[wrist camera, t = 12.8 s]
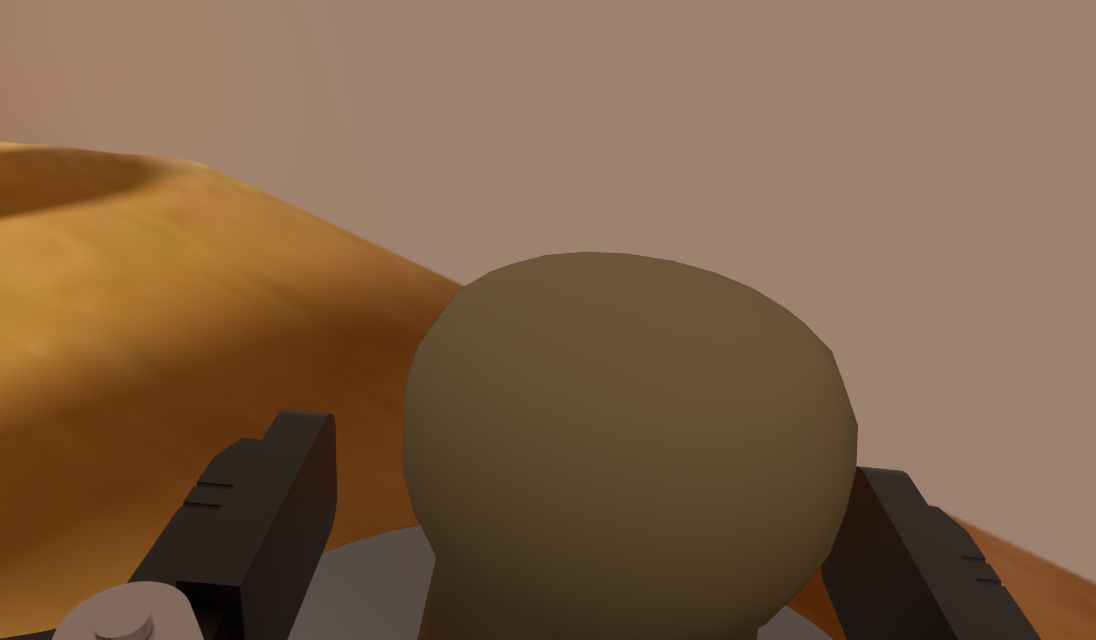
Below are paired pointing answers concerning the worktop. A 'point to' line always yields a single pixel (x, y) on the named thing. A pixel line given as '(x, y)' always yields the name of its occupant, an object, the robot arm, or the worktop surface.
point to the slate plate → (414, 593)
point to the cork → (621, 453)
